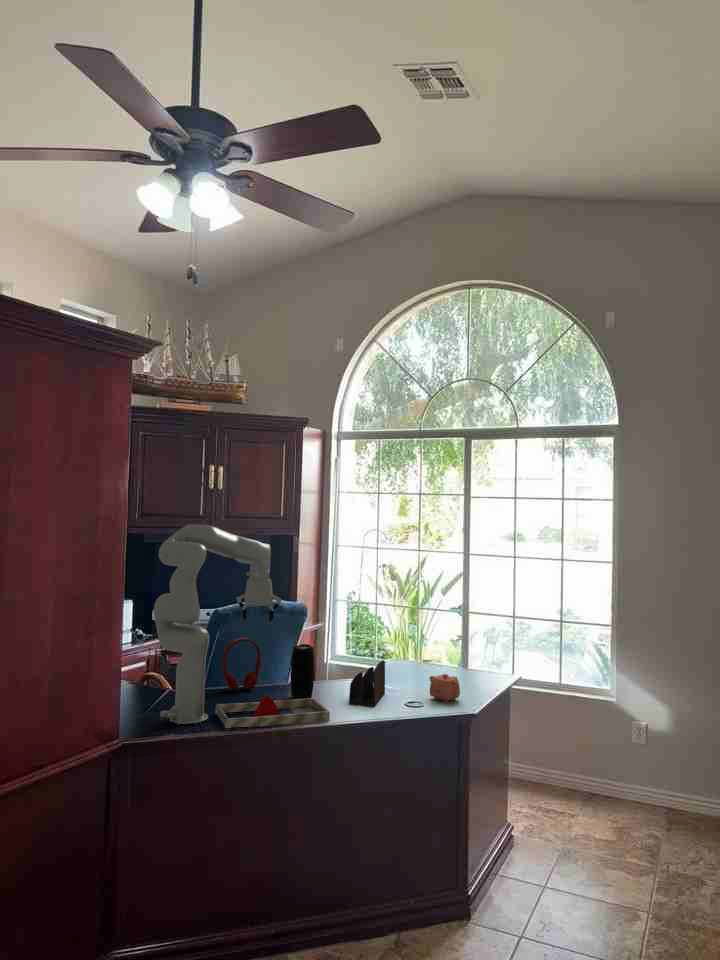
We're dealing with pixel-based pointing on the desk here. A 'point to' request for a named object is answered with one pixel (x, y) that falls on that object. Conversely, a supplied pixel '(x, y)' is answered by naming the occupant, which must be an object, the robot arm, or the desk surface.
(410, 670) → the desk surface
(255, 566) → the robot arm
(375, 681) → the letter holder
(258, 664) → the headphones
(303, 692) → the portable speaker
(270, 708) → the gemstone
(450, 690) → the teapot
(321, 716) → the shallow open box tray
